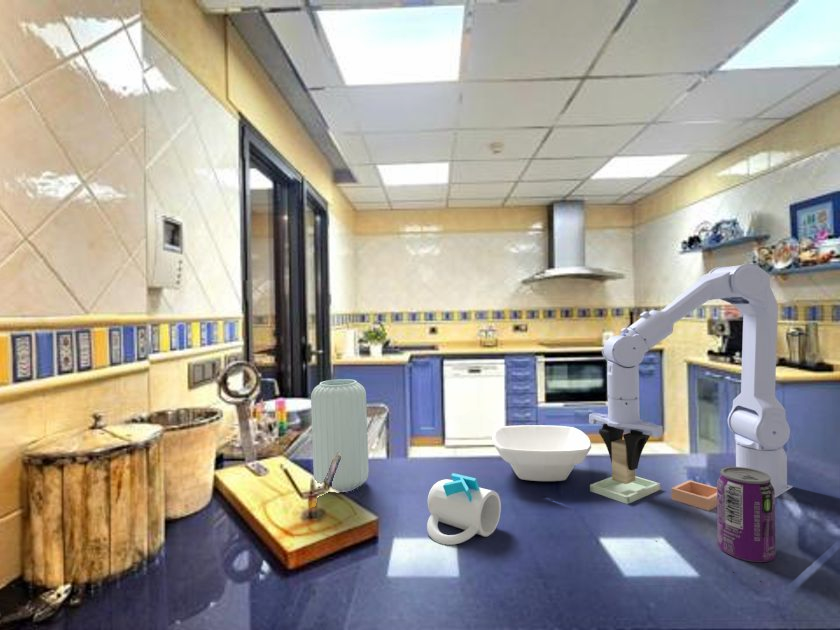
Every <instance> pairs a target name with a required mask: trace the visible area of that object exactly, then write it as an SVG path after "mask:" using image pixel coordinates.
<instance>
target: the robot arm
mask: <svg viewBox="0 0 840 630" xmlns="http://www.w3.org/2000/svg"><path fill="white" fill-rule="evenodd" d="M713 300H720V301H724V302H727V303H729V304H731V305H732V306H733V307H734V308H735V309H737V310H738V312H740V313H741V314H742V315H743V317H742V321H743V322H742V342H741V343H742V347H741V348H742V350H741V374H740V375H741V377H740V378H741V379H740V393H739V394H738V395H737V396H736V397H735V398H734V399H733V400H732V408H731V411H730V412H729V414H728V416H727V426H728V429H729V430H730V431H731V432H732V433H733V435H734V440H735V467H744V468H750V469H755V470H758V471H762V472H764V473H766V474H768V475H769V476H770V477H771V480H770V482H771V484H772V486H773V488H774V490H775V499H776V498H777V497H779V496H780V495H782V494H784V493H785V492H787V491H788V490H791V489H792V488H794V486H793V485H790V484H788V471H787V470H788V468H787V467H788V465H787V464H788V457H787V453H786V452H785V449H784V448H783V447H784V445H786V444H787V443H788V441H789V439H790V436H791V428H790V425H789V423H788V421H787V418H786V417H787V415H786V411H787V410H786V408H784V406H783V404H781V402H780V401H779V400H778V399H777V398H776V378H777V376H776V373H777V345H778V343H777V342H778V321H779V319H778V318H779V317H778V316H779V313H778V312H779V304H778V301H777V298H776V297H775V294H774V292H773V290H772V287H771V275H770V274H769V273H768V272H767V271H765V270H764V269H763V268H761V267H760V266H759V265H757V264H755V263H743V264H741V265H732V266H718V267H714V268H712V269H711V270H710V271H709V272H708V273H705V274H704V275H702V276H700V277H699V278H698V279H697V280H696V281H695V282H694V283H692V285H690V286H689V287H688V288H687V289H685V291H684V292H682V293H681V294H680V295H678V296H677V297H676V298H675V299H674V300H672V301H671V302H670V303H669V304H667V305H666V306H665V307H664V308H663V309H661V310H656V309H651V310H649V311H643V312H642V313H640V314H639V316H640V318H639V319H638V320H636V321H635V322H633V323H632V324H631V325H629V326H628V327H623V328H622V329H621V330H620V332H621V333H620V334H617V335H615V334H614V335H612V336H610V337H609V338H608V339H606V341H605V342H604V343H605V344H603V348H601V354H602V357H603V358H604V359H605V361H606V363H607V364H606V367H607V369H606V370H607V373H606V377H607V380H606V381H607V383H606V384H607V413H599V412H592V413H590V414H588V422H589V423H588V424H590V425H598V426H599V425H601V426H602V427H601V428H599V429H598V434H599V435H600V436H601V439H602V441H603V442H604V444H605V446H606V449H607V452H608V456H609V458H610V462H611V464H612V442H613V441H616V440H619V439H622V440H625V444H626V448H627V463H628V469H629V470H634V469H635V470H636V469H637V470H638V467H639V463H640V459H641V455H642V453H643V449H644V448H645V445H646V444H647V442H648V440H649V439H650V438H651V437H652V438H655V439H659V438H661V437H663V435H664V432H663V431H664V430H663V428H664V427H663V425H660V424H655V423H652V422H649V421H647V420H646V421H645V420H643V419H641V417H640V415H641V414H640V373H639V371H640V370H639V368H640V367H639V366H640V365H639V364H641V363H642V362H643V360H644V358H645V354H646V353H648V352H649V351H650V350H651V349H652V348H654V347H655V346H657V345H658V344H659V343H661V342H662V341H664V340H665V339H666V338H668V337H669V336H670V335H671V334H672V333H673V332H674V325H675V323H677V322H678V321H680V320H681V319H683V318H685V317H687V315H689V314H691V313H692V312H694V311H695V310H697V309H698V308H700V307H701V306H702V305H704V304H705V303H707V302H709V301H713ZM625 431H627V432H628V433H624V432H625Z"/></svg>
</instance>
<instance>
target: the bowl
mask: <svg viewBox="0 0 840 630" xmlns="http://www.w3.org/2000/svg"><path fill="white" fill-rule="evenodd" d="M491 441H492V443H493V445H494V447H495V449H496V451H497V452H498V453H499V456H500V458H502V459H501V460H503V461H504V462H505V463H509V465H510V466H511V468H512V470H513V472H514V474H515V475H516V476H517V477H518V479H520V480H525V481H533V482H534V481H535V482H557V481H558V482H561V481H566V480H567V478H568V477H569V476H570V474H571V472H572V471H573V469H574V468H575V466H576V465H581V464H582V463H583V461H584V460H585V459H586V457H587V455H588V454H589V452H590V451H591V449H592V441H591V440H590V437H589V436H588V435H587V434H586V433H585V432H583V431H582V430H581V429H578V428H576V427H574V426H565V425H564V426H563V425H547V424H546V425H545V424H544V425H541V424H539V425H537V424H536V425H535V424H534V425H533V424H532V425H531V424H529V425H528V424H527V425H526V424H524V425H523V424H521V425H505V426H499V427H497V428H496V429H495V430H494V431H493V433H492V436H491Z"/></svg>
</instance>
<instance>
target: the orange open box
mask: <svg viewBox="0 0 840 630" xmlns="http://www.w3.org/2000/svg"><path fill="white" fill-rule="evenodd" d="M670 495H671V496H670V498H671V500H673V501H676V502H679V503H682V504H685V505H689V506H691V507H694V508H697V509H701V510H703V511H707V512H709V511H711V510H713V509H715V508H717V486H712V485H709V484H704V483H701V482H697V481H695V480H690V479H689V480H686V481H685V482H683V483H680V484H677V485H676V486H674V487H673V486H672V487H671V488H670Z"/></svg>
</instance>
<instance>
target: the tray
mask: <svg viewBox="0 0 840 630" xmlns="http://www.w3.org/2000/svg"><path fill="white" fill-rule="evenodd" d="M660 490H661V483H660V482H656V481H653V480H650V479H646V478H643V477H639V476H636V475H635V481H633V482H631V483H628V484H624V483H621V482H617V481H614V480H612V476H610V477H607V478H605V479H603V480H600V481H596V482H593V483H590V485H589V492H591V493H595V494H597V495H601V496H603V497H605V498H609V499H612V500H615V501H617V502H620V503H623V504H624V505H630V504H631V503H634V502H636V501H638V500H640V499H642V498H644V497H647V496H649V495H651V494H653V493H656V492H658V491H660Z"/></svg>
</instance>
